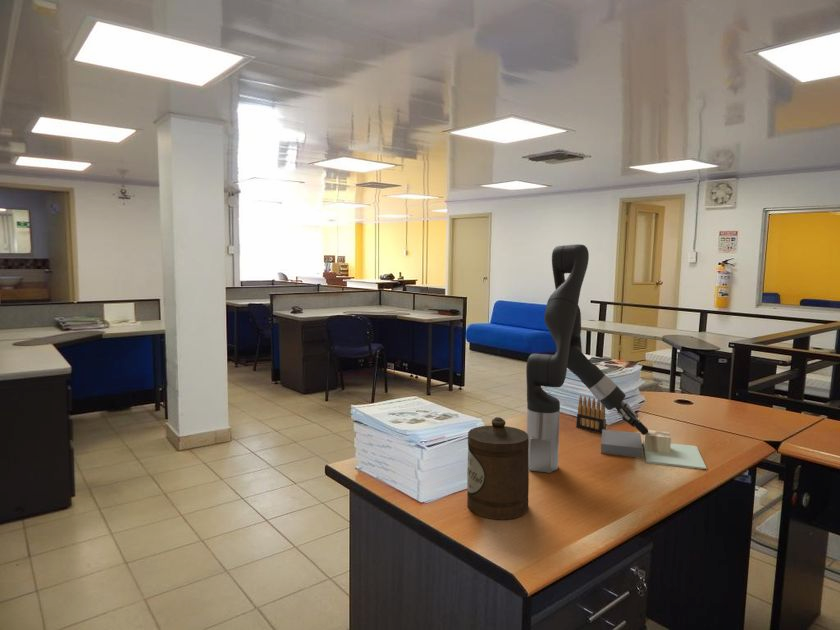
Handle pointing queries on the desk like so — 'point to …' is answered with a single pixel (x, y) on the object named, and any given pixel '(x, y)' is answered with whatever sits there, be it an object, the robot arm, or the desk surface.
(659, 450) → the birch block
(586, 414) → the ammunition clip
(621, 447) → the plate
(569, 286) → the robot arm
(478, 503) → the wooden container
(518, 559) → the desk surface
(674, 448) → the mat
